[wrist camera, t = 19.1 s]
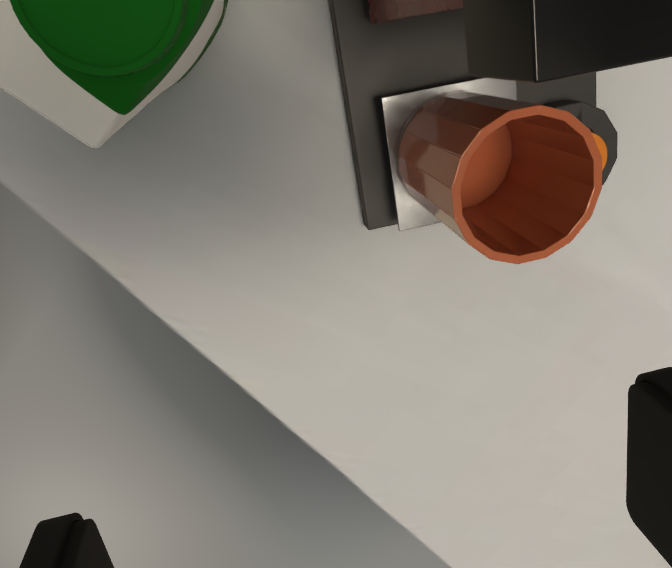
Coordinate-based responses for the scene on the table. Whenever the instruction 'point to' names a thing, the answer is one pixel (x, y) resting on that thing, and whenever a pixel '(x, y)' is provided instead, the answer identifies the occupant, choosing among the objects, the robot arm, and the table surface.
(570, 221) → the cup
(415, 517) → the table surface
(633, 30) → the coffee maker
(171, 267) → the table surface
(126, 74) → the milk carton
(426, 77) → the base
